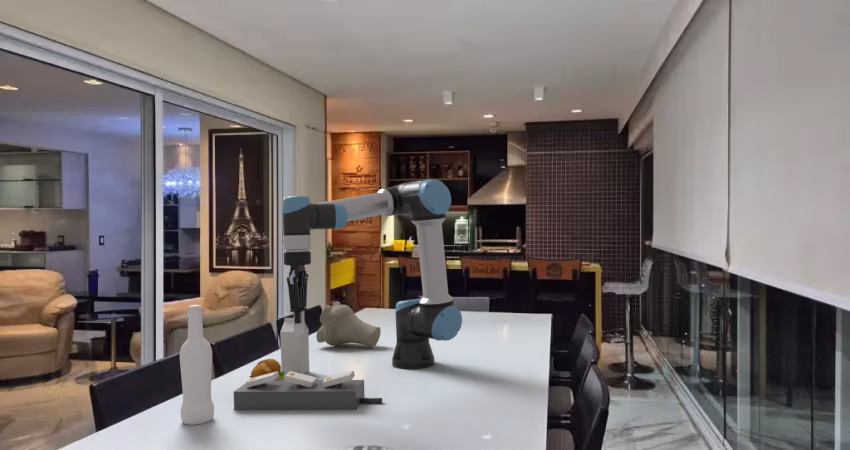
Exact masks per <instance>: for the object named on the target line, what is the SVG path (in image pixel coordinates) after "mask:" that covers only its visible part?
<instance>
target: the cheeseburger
mask: <svg viewBox="0 0 850 450" xmlns="http://www.w3.org/2000/svg"><path fill="white" fill-rule="evenodd" d="M277 371H278V373H279V377H278V378H276V379H275V380H284V376H285V372H283V371H281V363H280V362H279V361H278V360H276V359H274V358H267V359H266V358H265V359H263V360H260V361H259V362H257V363H256V365H254V367H253V368H252V369H251V373H250V375H249V378H250V379H251V378H254V377H258V376H262V375H266V374H269V373H273V372H277Z"/></svg>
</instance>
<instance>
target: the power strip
mask: <svg viewBox="0 0 850 450" xmlns="http://www.w3.org/2000/svg"><path fill="white" fill-rule="evenodd" d="M324 380H325V379H317V380H316V383H315V384H314V385H313V386H312V387H307V386H303V385H299V384H295V383H291V382H287V381H284V380H274V381H271V382H267V383H263V384H259V385H255V386H252V387H248V388H247V387H246V384H245V383H244V384H243V385H241V386H240V387H238V388H237V389H235V390H234V391H233V411H273V410H274V411H286V410H287V411H305V410H306V411H317V410H318V411H320V410H321V411H323V410H324V411H337V410H339V411H345V410H346V411H347V410H348V411H349V410H350V411H354V410H356V411H357V410H358V408H359V406H360V405H361V404H383V397H365V379H352V380H351V381H347V382H343V383H339V384H335V385H331V386H328V387H324V386H323V383H322V382H323V381H324Z"/></svg>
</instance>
